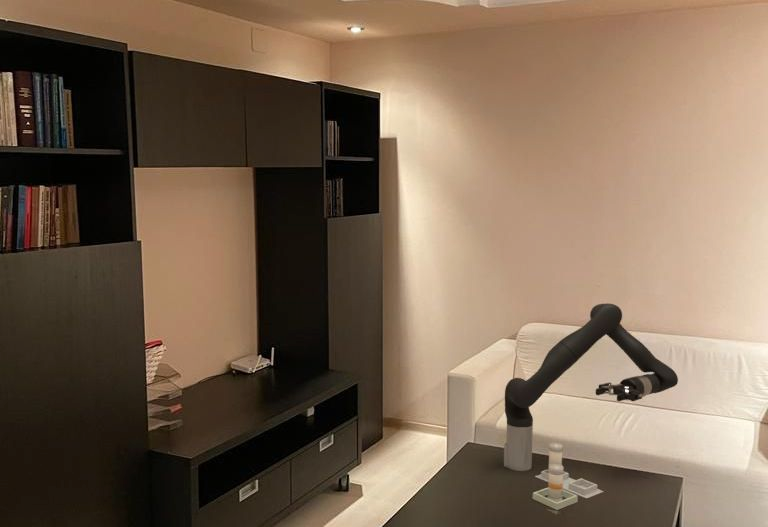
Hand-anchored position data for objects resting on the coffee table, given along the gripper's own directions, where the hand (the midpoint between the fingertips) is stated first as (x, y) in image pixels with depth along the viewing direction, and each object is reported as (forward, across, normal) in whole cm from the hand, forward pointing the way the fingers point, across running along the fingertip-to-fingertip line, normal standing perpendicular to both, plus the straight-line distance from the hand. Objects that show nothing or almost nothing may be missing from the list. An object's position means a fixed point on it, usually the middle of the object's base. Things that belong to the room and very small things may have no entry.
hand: (607, 395), depth 245 cm
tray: (+25, 0, +32) cm, 41 cm away
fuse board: (+11, -6, +32) cm, 34 cm away
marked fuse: (+25, 0, +31) cm, 40 cm away
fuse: (+11, -12, +30) cm, 35 cm away
